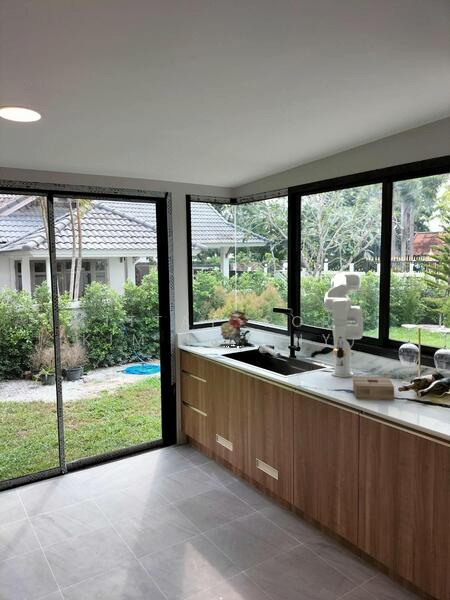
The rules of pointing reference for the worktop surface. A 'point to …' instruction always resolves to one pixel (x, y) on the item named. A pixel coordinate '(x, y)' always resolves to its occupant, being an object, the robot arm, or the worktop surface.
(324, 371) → the worktop surface
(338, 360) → the pin
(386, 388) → the hitch block
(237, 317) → the rose bouquet
